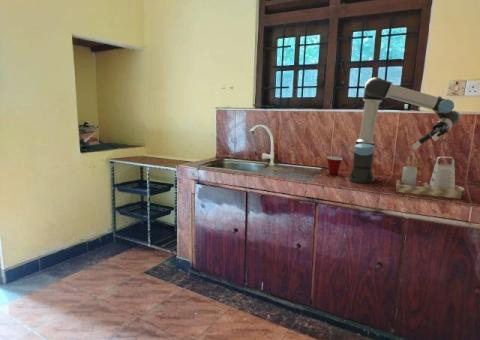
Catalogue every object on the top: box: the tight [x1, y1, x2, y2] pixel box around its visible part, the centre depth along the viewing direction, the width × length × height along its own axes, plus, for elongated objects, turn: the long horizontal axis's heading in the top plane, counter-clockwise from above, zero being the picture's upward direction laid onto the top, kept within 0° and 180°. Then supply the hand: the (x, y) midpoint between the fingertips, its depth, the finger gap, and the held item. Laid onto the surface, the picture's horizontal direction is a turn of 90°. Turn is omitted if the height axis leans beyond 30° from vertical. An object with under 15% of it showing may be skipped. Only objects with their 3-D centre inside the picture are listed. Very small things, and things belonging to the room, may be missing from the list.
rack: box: [395, 179, 463, 200], centre depth 168 cm, size 30×14×4 cm, turn 63°
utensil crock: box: [400, 153, 418, 186], centre depth 171 cm, size 7×7×20 cm
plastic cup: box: [326, 155, 343, 175], centre depth 216 cm, size 11×11×12 cm
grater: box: [428, 156, 456, 190], centre depth 164 cm, size 10×10×20 cm
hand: (423, 143), depth 171 cm, fingers open, 13 cm apart
